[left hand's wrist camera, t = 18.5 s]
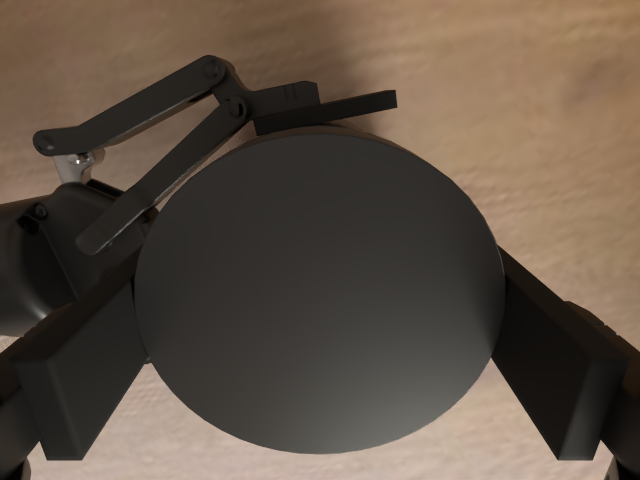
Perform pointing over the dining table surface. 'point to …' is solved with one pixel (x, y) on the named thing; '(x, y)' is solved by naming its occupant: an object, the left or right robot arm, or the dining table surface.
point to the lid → (319, 292)
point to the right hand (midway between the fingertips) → (402, 198)
